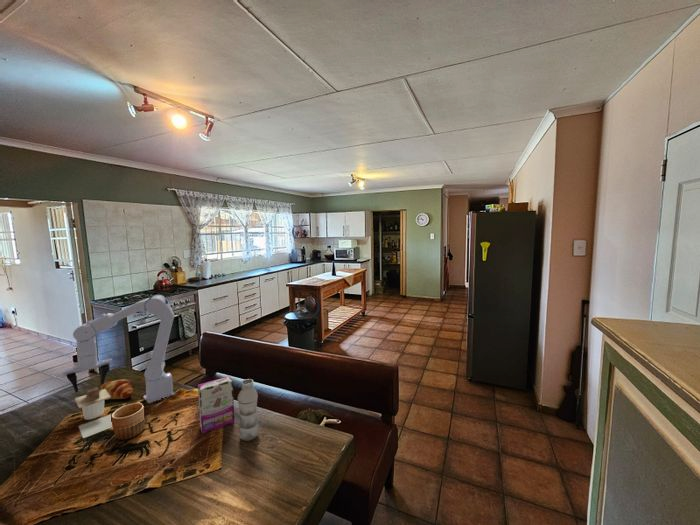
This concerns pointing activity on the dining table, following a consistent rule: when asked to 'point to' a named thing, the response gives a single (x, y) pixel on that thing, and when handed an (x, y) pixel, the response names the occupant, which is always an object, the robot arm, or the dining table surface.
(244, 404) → the plastic bottle
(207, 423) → the candy bar box
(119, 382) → the croissant
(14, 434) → the dining table surface
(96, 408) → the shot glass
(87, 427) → the mat
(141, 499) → the dining table surface
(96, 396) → the lid
